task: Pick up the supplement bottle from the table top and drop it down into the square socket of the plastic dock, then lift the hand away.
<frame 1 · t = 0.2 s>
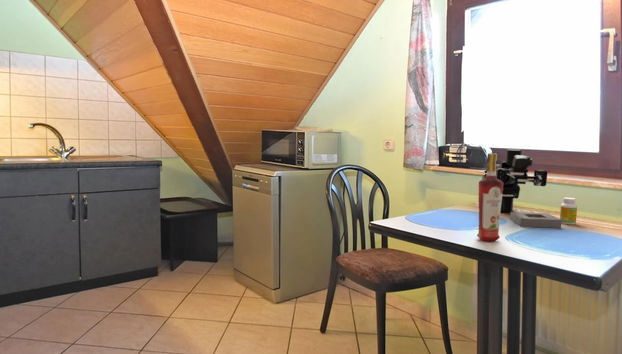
hand: (528, 180, 163), 17 cm above the table, tool horizontal, fingers open, 9 cm apart
dock: (534, 223, 165), on the table
liquor: (488, 240, 139), on the table
supplement bottle: (567, 223, 166), on the table
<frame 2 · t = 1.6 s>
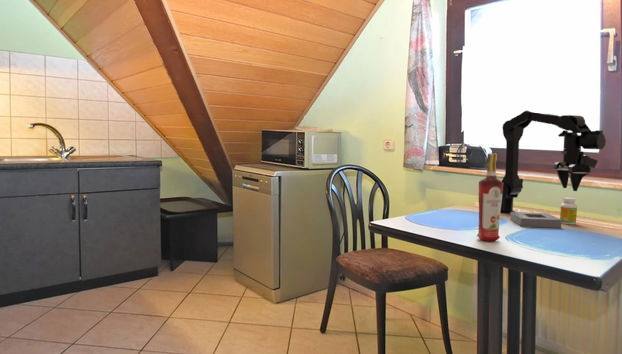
hand: (569, 189, 165), 13 cm above the table, tool pointing down, fingers open, 9 cm apart
nothing on the table moved.
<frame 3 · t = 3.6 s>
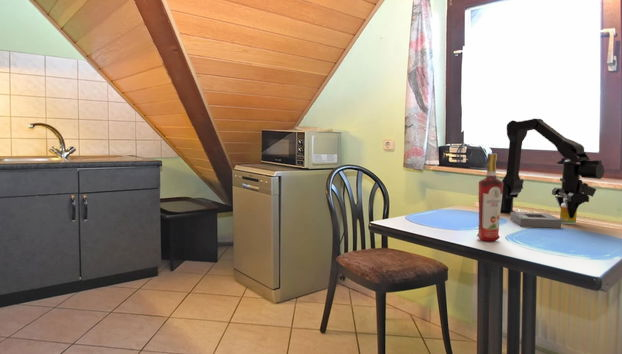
hand: (568, 216, 166), 3 cm above the table, tool pointing down, fingers closed on supplement bottle, 5 cm apart
supplement bottle: (567, 223, 166), on the table, touching gripper
everything else where it was.
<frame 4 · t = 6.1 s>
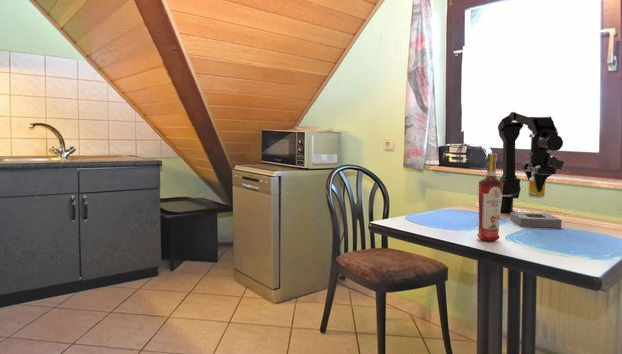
hand: (536, 190, 164), 13 cm above the table, tool pointing down, fingers closed on supplement bottle, 5 cm apart
supplement bottle: (536, 197, 164), point 10 cm above the table, touching gripper
everything else where it was.
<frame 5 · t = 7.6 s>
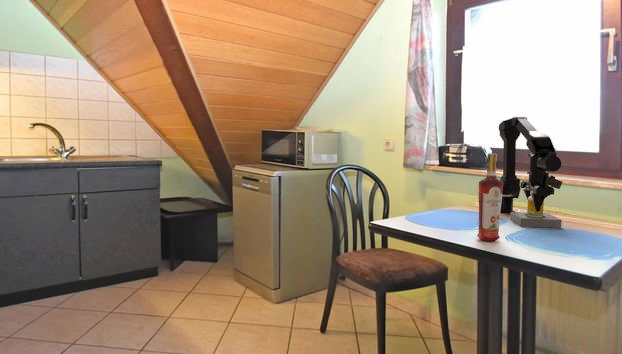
hand: (535, 209, 165), 5 cm above the table, tool pointing down, fingers closed on supplement bottle, 5 cm apart
supplement bottle: (534, 216, 165), point 3 cm above the table, touching gripper
everything else where it was.
when the fingers open (4 cm above the table, at t = 8.9 s): supplement bottle stays where it is, resting on dock.
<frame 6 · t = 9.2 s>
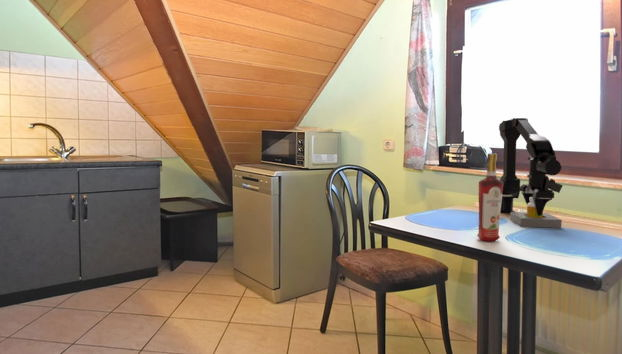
hand: (535, 213, 165), 4 cm above the table, tool pointing down, fingers open, 9 cm apart
supplement bottle: (534, 223, 165), resting on dock
everything else where it was.
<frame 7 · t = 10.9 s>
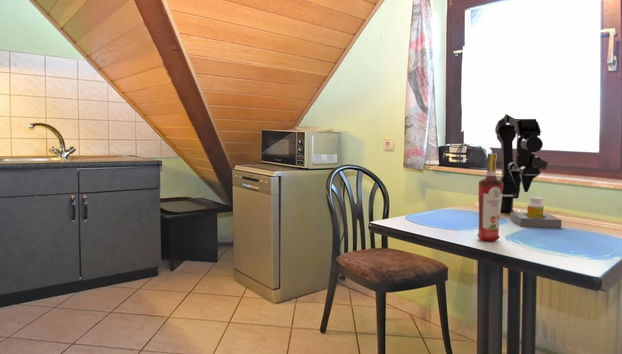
hand: (521, 190, 169), 12 cm above the table, tool pointing down, fingers open, 9 cm apart
nothing on the table moved.
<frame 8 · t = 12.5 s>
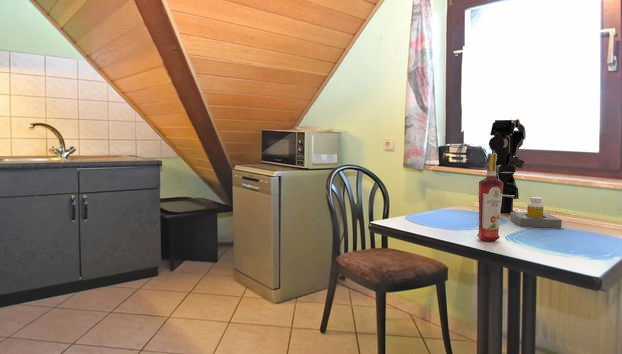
hand: (500, 187, 177), 12 cm above the table, tool pointing down, fingers open, 9 cm apart
nothing on the table moved.
at the end: supplement bottle 0.0 cm off-centre on the dock, point 0.1 cm above the dock's base; supplement bottle tilted 0°; the gripper is holding nothing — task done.
